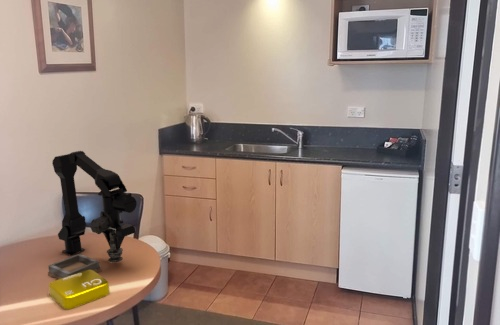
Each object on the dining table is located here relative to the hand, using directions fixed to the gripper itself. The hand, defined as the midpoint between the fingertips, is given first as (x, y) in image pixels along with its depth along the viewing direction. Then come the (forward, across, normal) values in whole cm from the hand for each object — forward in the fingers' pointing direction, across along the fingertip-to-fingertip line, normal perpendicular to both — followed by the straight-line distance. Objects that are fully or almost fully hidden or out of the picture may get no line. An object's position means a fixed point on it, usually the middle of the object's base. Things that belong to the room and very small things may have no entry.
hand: (114, 248), depth 164 cm
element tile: (+7, +8, -20) cm, 23 cm away
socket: (+7, -7, -12) cm, 16 cm away
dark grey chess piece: (+5, 0, 0) cm, 5 cm away
